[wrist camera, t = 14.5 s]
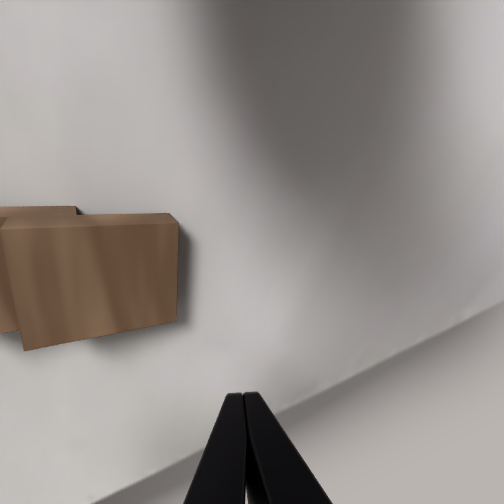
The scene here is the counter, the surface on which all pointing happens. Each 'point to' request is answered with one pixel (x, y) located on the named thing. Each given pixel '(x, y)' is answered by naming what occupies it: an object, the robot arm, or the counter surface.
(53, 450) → the counter surface
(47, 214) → the domino
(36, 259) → the domino
